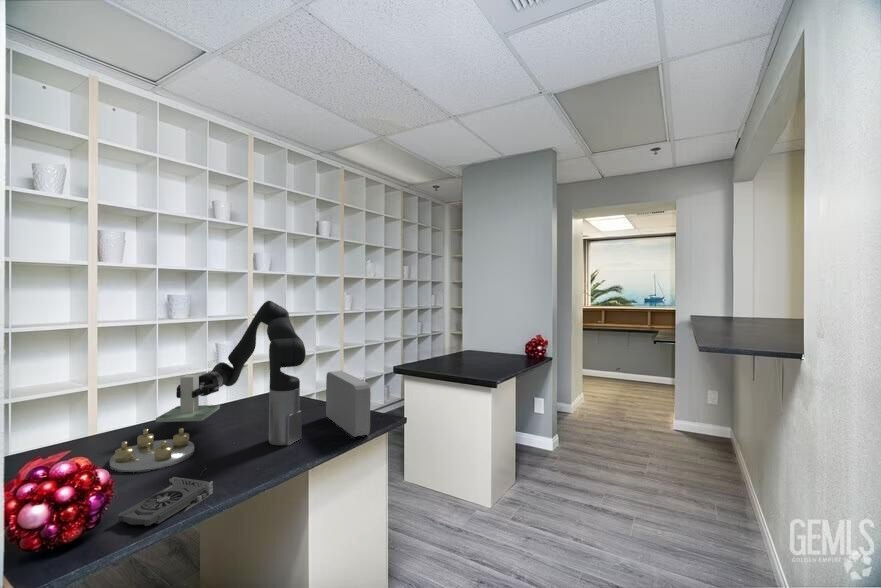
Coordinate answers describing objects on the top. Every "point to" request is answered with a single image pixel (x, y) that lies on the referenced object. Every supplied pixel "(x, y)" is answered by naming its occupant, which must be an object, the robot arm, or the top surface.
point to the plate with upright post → (188, 404)
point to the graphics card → (167, 502)
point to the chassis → (152, 453)
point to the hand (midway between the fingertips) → (185, 394)
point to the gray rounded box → (348, 402)
